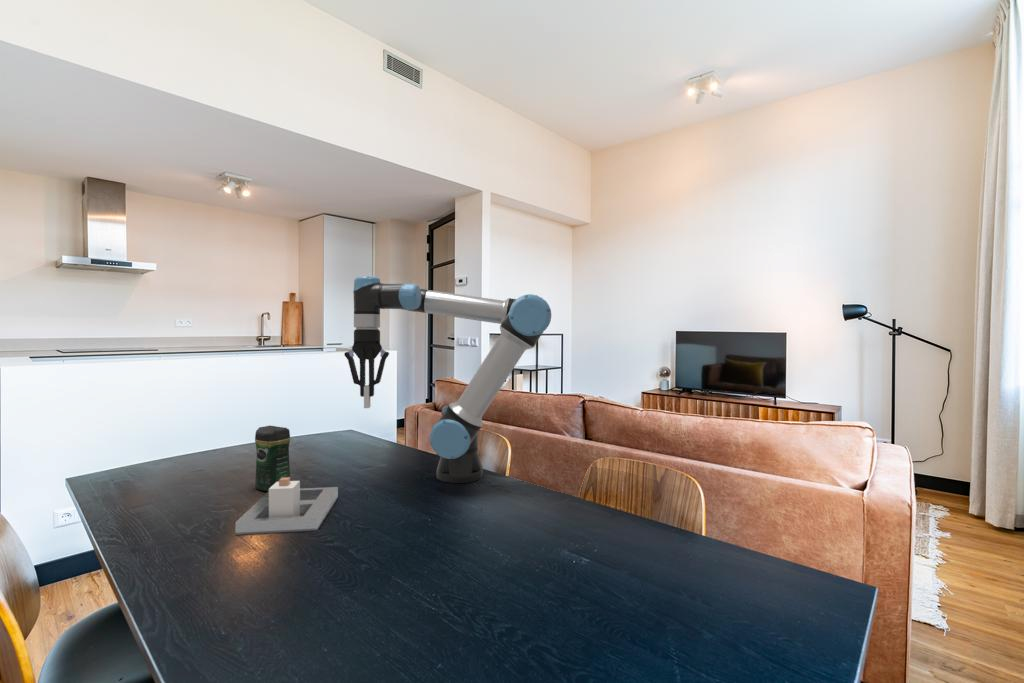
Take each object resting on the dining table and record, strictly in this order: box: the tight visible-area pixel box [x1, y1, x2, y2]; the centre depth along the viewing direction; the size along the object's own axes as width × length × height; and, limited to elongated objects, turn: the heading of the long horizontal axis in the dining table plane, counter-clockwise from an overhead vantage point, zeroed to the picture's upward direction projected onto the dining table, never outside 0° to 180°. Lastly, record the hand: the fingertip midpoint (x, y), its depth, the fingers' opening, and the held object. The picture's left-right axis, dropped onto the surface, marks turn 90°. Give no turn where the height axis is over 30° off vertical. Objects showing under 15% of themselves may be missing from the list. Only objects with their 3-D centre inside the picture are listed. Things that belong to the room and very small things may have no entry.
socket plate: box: [235, 486, 339, 536], centre depth 120 cm, size 18×22×3 cm
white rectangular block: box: [268, 476, 301, 518], centre depth 114 cm, size 6×6×10 cm
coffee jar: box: [254, 425, 291, 492], centre depth 140 cm, size 10×8×19 cm
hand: (367, 407), depth 139 cm, fingers closed
